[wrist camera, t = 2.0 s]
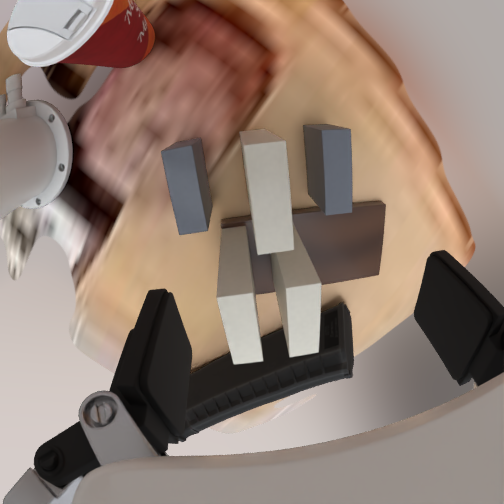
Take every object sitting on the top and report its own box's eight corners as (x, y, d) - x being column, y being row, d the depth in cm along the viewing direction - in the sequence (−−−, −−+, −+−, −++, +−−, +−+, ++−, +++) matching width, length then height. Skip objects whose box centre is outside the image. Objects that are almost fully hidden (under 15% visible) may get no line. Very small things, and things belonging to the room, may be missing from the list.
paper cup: (183, 32, 19) (137, -29, 7) (128, 92, 22) (41, 88, 9) (129, -3, 17) (61, -59, 4) (79, 55, 19) (-14, 40, 7)
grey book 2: (303, 125, 25) (321, 130, 19) (326, 124, 25) (350, 129, 19) (308, 194, 28) (325, 215, 23) (330, 191, 28) (352, 212, 23)
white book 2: (239, 131, 25) (243, 145, 15) (265, 128, 25) (286, 140, 15) (248, 201, 28) (257, 255, 18) (272, 198, 28) (294, 250, 18)
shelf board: (221, 219, 29) (220, 224, 28) (380, 200, 29) (385, 204, 28) (234, 291, 33) (234, 297, 32) (375, 269, 33) (379, 275, 32)
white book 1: (221, 228, 28) (216, 297, 18) (245, 225, 28) (253, 292, 18) (232, 286, 31) (233, 364, 22) (254, 283, 31) (263, 361, 22)
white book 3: (267, 222, 28) (285, 288, 18) (291, 219, 28) (321, 282, 18) (273, 281, 31) (289, 357, 22) (294, 278, 31) (318, 352, 22)
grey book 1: (176, 142, 25) (160, 151, 19) (200, 137, 25) (192, 145, 19) (189, 210, 28) (179, 235, 23) (212, 206, 28) (207, 231, 23)
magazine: (385, 334, 26) (168, 478, 24) (391, 349, 27) (186, 484, 26) (309, 273, 41) (156, 388, 40) (318, 287, 43) (170, 397, 41)
